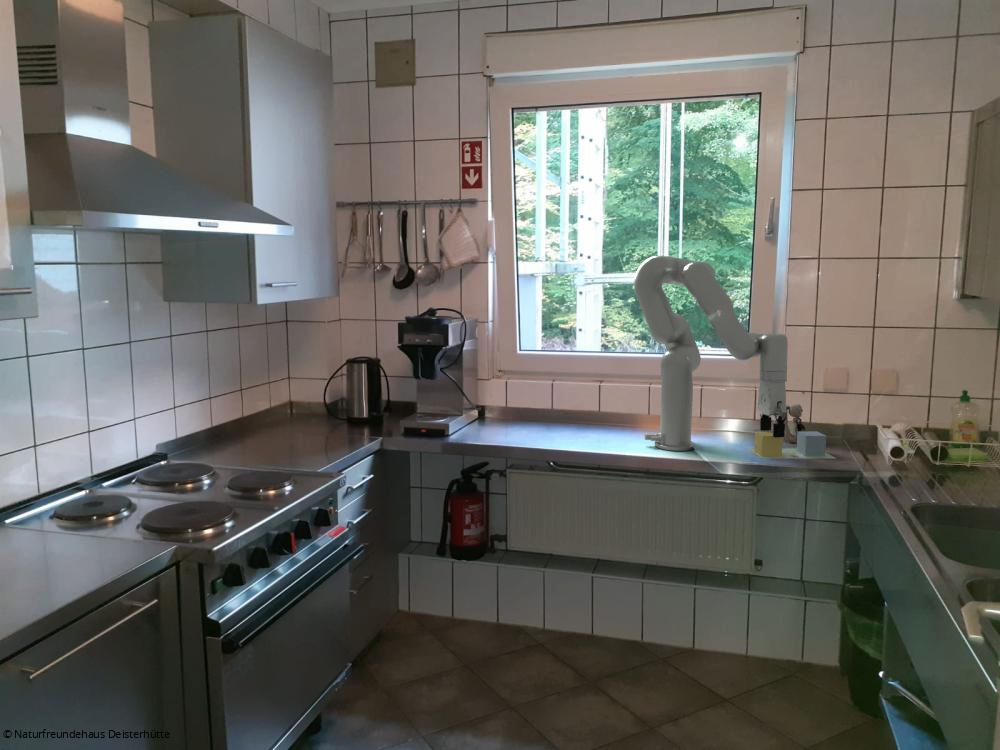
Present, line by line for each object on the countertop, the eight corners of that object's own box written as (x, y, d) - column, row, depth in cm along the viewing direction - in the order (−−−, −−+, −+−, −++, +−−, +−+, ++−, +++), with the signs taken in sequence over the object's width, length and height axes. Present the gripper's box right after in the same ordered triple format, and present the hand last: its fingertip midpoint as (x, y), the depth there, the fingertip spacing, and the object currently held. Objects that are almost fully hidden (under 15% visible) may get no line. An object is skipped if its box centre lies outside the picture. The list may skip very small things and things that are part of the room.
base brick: (805, 455, 227) (806, 435, 227) (796, 450, 233) (797, 431, 232) (825, 455, 228) (826, 435, 227) (815, 450, 234) (817, 431, 233)
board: (761, 462, 224) (762, 458, 224) (746, 452, 236) (747, 448, 236) (836, 462, 225) (836, 457, 225) (817, 452, 237) (817, 447, 237)
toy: (814, 446, 242) (801, 400, 241) (786, 452, 244) (774, 407, 243) (808, 439, 251) (797, 395, 250) (782, 446, 253) (770, 402, 252)
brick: (761, 456, 227) (762, 436, 226) (754, 451, 233) (755, 431, 232) (781, 456, 227) (782, 436, 226) (773, 451, 233) (774, 431, 232)
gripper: (749, 373, 235) (748, 428, 237) (772, 380, 218) (771, 440, 220) (774, 372, 235) (772, 427, 237) (798, 379, 218) (797, 439, 220)
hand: (772, 433), depth 229 cm, fingers open, 9 cm apart
